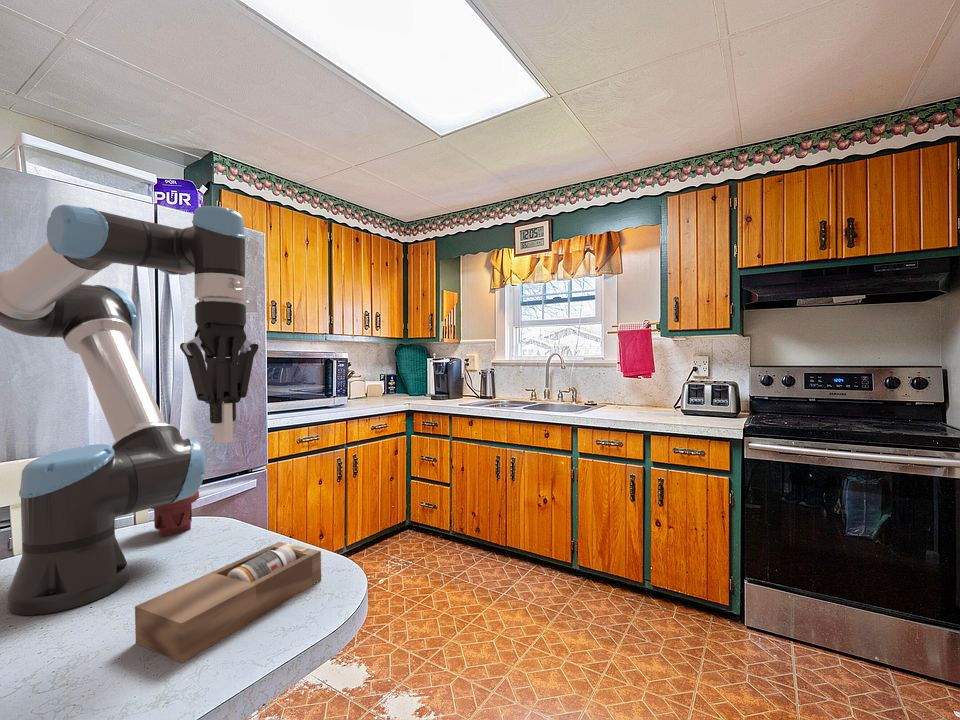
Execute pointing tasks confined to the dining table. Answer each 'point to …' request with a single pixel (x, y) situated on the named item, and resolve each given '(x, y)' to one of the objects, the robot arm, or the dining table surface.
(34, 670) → the dining table surface
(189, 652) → the brown wooden open box
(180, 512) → the mechanical component
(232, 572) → the pill bottle
